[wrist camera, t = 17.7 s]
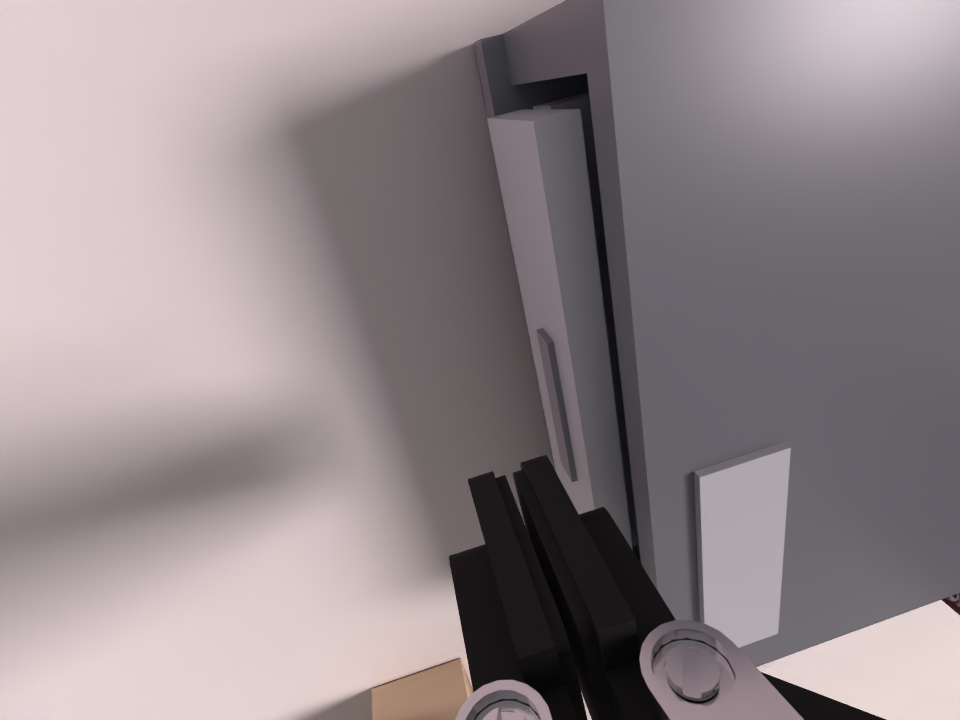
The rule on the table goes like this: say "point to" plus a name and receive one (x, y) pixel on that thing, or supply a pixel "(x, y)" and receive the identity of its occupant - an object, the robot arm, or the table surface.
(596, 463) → the tray
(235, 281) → the table surface
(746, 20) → the box
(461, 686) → the tan cube
